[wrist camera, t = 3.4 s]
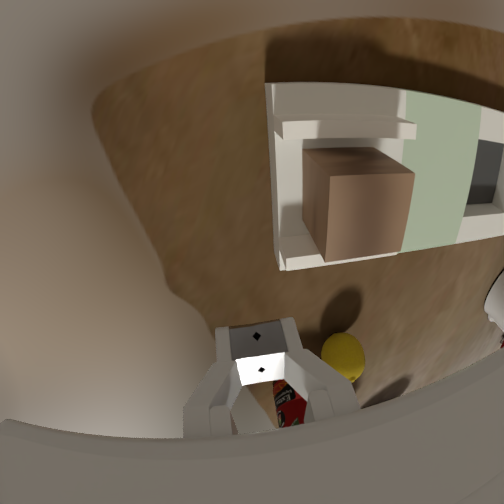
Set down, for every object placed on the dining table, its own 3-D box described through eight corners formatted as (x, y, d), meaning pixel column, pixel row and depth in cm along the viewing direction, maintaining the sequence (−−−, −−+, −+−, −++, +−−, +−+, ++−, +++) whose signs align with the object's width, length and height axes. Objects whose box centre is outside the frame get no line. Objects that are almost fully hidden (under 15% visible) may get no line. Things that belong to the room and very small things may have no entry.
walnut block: (373, 147, 21) (415, 173, 16) (367, 212, 24) (400, 251, 19) (302, 148, 21) (330, 176, 16) (302, 219, 24) (324, 262, 19)
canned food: (280, 370, 42) (294, 435, 33) (326, 370, 44) (344, 429, 35) (265, 394, 46) (275, 452, 37) (307, 393, 48) (321, 447, 39)
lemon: (316, 325, 36) (333, 376, 30) (355, 317, 37) (377, 364, 30) (313, 349, 40) (328, 397, 33) (349, 342, 40) (367, 386, 33)
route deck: (513, 115, 22) (547, 130, 17) (491, 223, 31) (517, 247, 26) (264, 82, 20) (280, 85, 15) (274, 251, 29) (286, 292, 24)
